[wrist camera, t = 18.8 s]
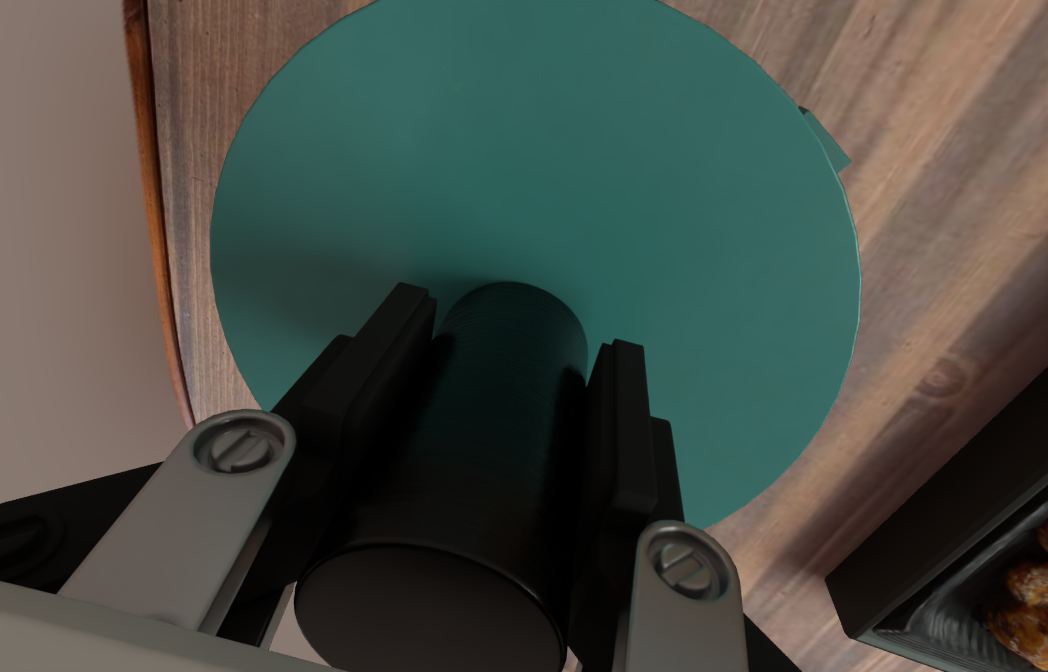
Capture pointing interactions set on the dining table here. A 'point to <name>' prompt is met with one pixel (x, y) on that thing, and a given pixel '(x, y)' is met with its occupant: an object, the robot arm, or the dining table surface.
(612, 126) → the lid
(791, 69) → the dining table surface
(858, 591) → the food platter
